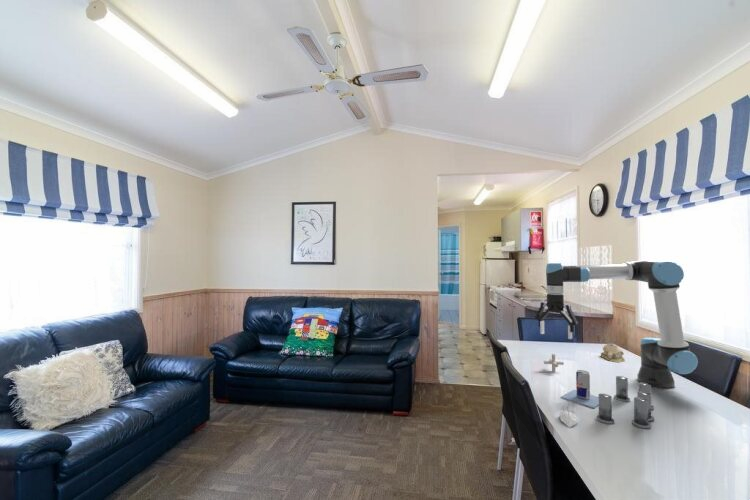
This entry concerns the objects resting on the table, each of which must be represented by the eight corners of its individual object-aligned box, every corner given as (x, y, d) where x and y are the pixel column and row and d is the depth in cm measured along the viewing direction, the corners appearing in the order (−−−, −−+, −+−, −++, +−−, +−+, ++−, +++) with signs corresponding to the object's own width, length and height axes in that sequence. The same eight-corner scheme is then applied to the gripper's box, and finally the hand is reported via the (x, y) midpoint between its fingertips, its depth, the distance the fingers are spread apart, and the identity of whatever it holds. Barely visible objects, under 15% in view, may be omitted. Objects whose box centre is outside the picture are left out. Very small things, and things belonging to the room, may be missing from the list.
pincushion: (558, 413, 144) (558, 400, 144) (575, 416, 142) (575, 402, 142) (561, 426, 133) (560, 411, 133) (578, 429, 131) (578, 415, 131)
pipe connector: (566, 375, 189) (566, 357, 189) (546, 374, 191) (546, 356, 191) (560, 369, 198) (560, 352, 199) (541, 368, 200) (541, 351, 201)
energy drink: (573, 395, 160) (573, 370, 160) (584, 395, 160) (584, 369, 161) (581, 400, 155) (581, 374, 155) (592, 400, 155) (592, 373, 155)
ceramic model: (629, 361, 212) (629, 345, 212) (614, 363, 210) (614, 346, 210) (610, 355, 226) (610, 340, 226) (595, 356, 224) (595, 341, 224)
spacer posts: (585, 417, 140) (585, 392, 140) (616, 395, 161) (616, 374, 162) (642, 436, 125) (642, 409, 125) (668, 410, 146) (668, 386, 146)
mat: (560, 398, 159) (560, 396, 159) (573, 390, 167) (573, 389, 167) (594, 408, 148) (594, 407, 148) (606, 400, 156) (606, 399, 156)
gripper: (527, 292, 179) (528, 332, 178) (578, 296, 159) (579, 342, 158) (534, 291, 183) (535, 330, 183) (585, 295, 163) (586, 339, 163)
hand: (555, 336), depth 171 cm, fingers open, 13 cm apart
